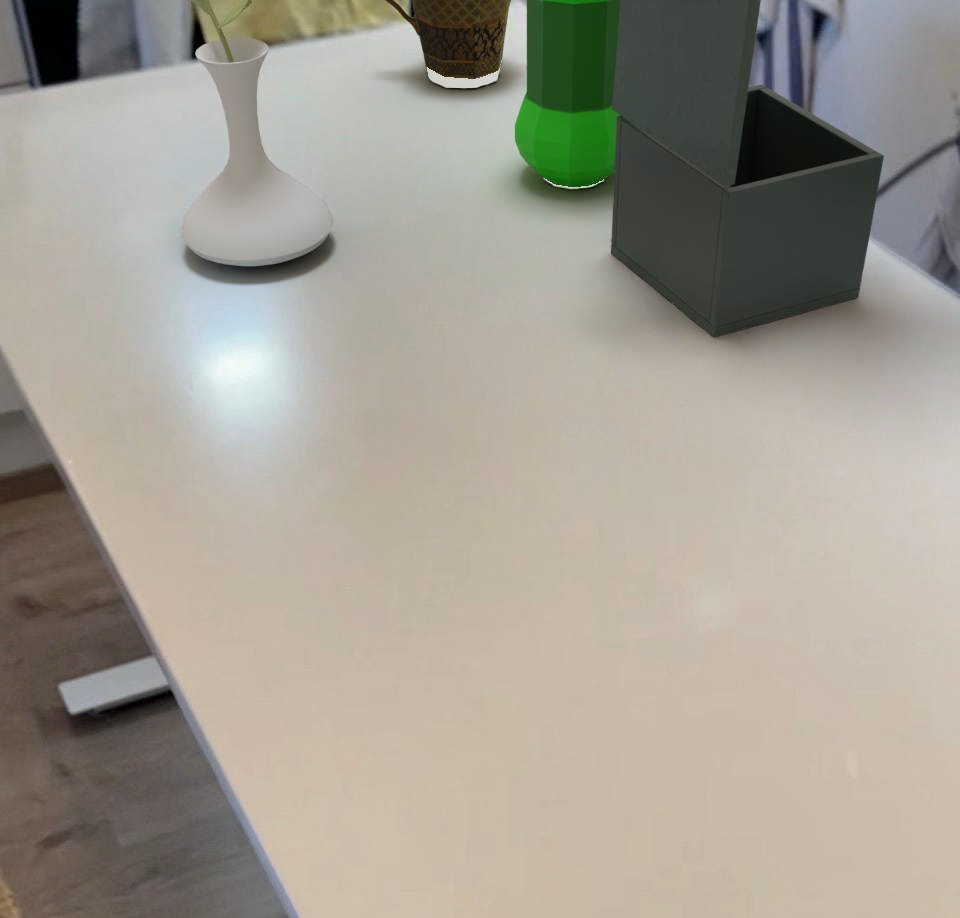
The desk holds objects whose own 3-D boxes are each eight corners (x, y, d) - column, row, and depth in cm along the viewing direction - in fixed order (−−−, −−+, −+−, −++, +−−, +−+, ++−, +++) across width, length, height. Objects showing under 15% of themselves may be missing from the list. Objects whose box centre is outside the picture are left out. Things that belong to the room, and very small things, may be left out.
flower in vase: (358, 261, 104) (321, -137, 86) (212, 295, 101) (141, -110, 82) (297, 195, 112) (251, -180, 94) (160, 226, 109) (85, -157, 91)
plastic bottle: (664, 172, 113) (690, -203, 95) (577, 215, 108) (587, -173, 90) (572, 140, 118) (580, -223, 100) (485, 179, 113) (477, -195, 95)
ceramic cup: (524, 58, 132) (524, -64, 124) (512, 98, 125) (510, -28, 117) (389, 55, 133) (380, -65, 126) (369, 95, 126) (359, -30, 119)
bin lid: (639, -108, 87) (571, -101, 86) (767, -47, 78) (694, -37, 77) (621, 108, 96) (560, 118, 95) (735, 184, 88) (669, 197, 86)
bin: (746, 218, 107) (761, 83, 100) (858, 297, 98) (884, 155, 91) (610, 252, 104) (616, 115, 97) (713, 337, 95) (728, 193, 88)
